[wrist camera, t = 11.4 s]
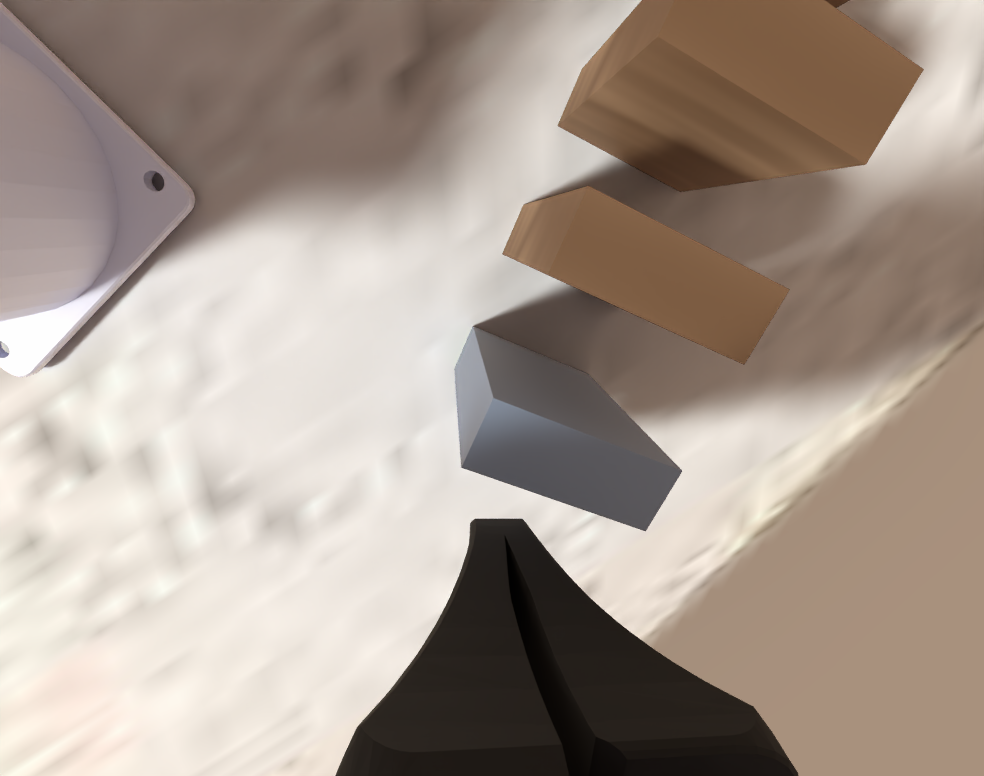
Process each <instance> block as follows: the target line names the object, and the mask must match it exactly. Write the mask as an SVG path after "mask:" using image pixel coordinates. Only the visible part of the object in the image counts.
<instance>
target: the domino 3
mask: <svg viewBox="0 0 984 776" xmlns="http://www.w3.org/2000/svg"><path fill="white" fill-rule="evenodd" d="M454 370H455V384H456V398H457V412H458V427H459V441H460V455H461V468H464V469H467V470H470V471H473V472H476V473H479V474H482V475H484V476H487V477H490V478H493V479H496V480H499V481H502V482H505V483H508V484H510V485H513V486H516V487H519V488H522V489H525V490H528V491H531V492H534V493H536V494H539V495H542V496H545V497H548V498H551V499H554V500H557V501H560V502H562V503H565V504H568V505H571V506H574V507H577V508H580V509H583V510H586V511H588V512H591V513H594V514H597V515H600V516H603V517H606V518H609V519H612V520H614V521H617V522H620V523H623V524H626V525H629V526H632V527H635V528H638V529H640V530H643V531H646V530H647V528H648V527H649V525H650V523H651V522H652V520H653V518H654V517H655V515H656V513H657V512H658V510H659V508H660V507H661V505H662V504H663V502H664V500H665V499H666V497H667V495H668V494H669V492H670V490H671V489H672V487H673V485H674V484H675V482H676V481H677V479H678V477H679V476H680V474H681V472H682V470H681V469H680V468H679V467H678V466H677V465H676V464H675V463H674V462H673V461H672V460H671V459H670V458H669V457H668V456H667V455H666V454H665V453H664V452H663V451H662V449H661V448H660V447H659V446H658V445H657V444H656V443H655V442H654V441H653V440H652V439H651V438H650V437H649V436H648V435H647V434H646V433H645V432H644V431H643V430H642V429H641V428H640V427H639V426H638V425H637V424H636V423H635V422H634V421H633V420H632V419H631V418H630V417H629V416H628V415H627V414H626V413H625V411H624V410H623V409H622V408H621V407H620V406H619V405H618V404H617V403H616V402H615V401H614V400H613V399H612V398H611V397H610V396H609V395H608V394H607V393H606V392H605V391H604V390H603V389H602V388H601V387H600V386H599V385H598V384H597V383H596V382H595V381H594V380H593V379H592V378H591V377H590V376H589V375H588V374H587V373H584V372H582V371H579V370H577V369H575V368H572V367H570V366H567V365H565V364H563V363H560V362H558V361H555V360H553V359H551V358H548V357H546V356H543V355H541V354H539V353H536V352H534V351H531V350H529V349H527V348H524V347H522V346H520V345H517V344H515V343H512V342H510V341H508V340H505V339H503V338H500V337H498V336H496V335H493V334H491V333H488V332H486V331H484V330H481V329H479V328H476V327H474V326H473V327H472V329H471V332H470V334H469V336H468V339H467V341H466V343H465V346H464V348H463V350H462V353H461V355H460V357H459V360H458V362H457V364H456V367H455V369H454Z"/></svg>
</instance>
